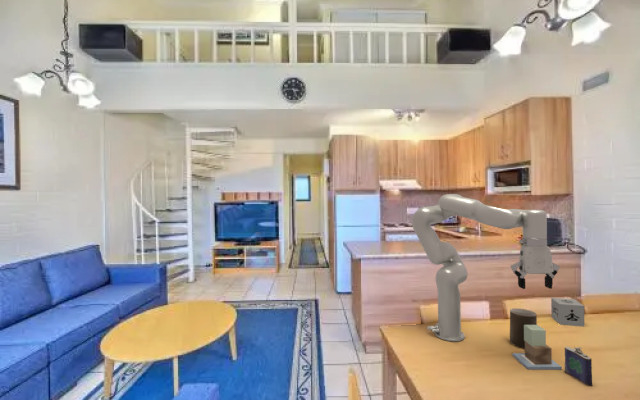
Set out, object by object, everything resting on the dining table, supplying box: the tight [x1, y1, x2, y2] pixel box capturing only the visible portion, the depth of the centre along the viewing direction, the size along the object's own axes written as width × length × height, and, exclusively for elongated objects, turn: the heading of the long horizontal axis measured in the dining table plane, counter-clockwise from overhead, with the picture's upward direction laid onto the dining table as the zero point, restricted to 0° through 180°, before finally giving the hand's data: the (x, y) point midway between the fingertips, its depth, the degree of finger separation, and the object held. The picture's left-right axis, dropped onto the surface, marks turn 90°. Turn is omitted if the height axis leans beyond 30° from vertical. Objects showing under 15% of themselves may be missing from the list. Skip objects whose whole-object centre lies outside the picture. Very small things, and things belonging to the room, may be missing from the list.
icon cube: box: [550, 297, 585, 328], centre depth 158 cm, size 10×10×10 cm
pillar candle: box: [509, 308, 538, 350], centre depth 135 cm, size 10×10×15 cm
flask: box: [564, 346, 593, 387], centre depth 110 cm, size 9×3×11 cm, turn 8°
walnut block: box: [524, 341, 553, 365], centre depth 120 cm, size 6×6×6 cm
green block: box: [524, 324, 547, 346], centre depth 121 cm, size 5×5×6 cm
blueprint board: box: [511, 352, 563, 371], centre depth 121 cm, size 12×10×1 cm
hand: (535, 287), depth 120 cm, fingers open, 9 cm apart
